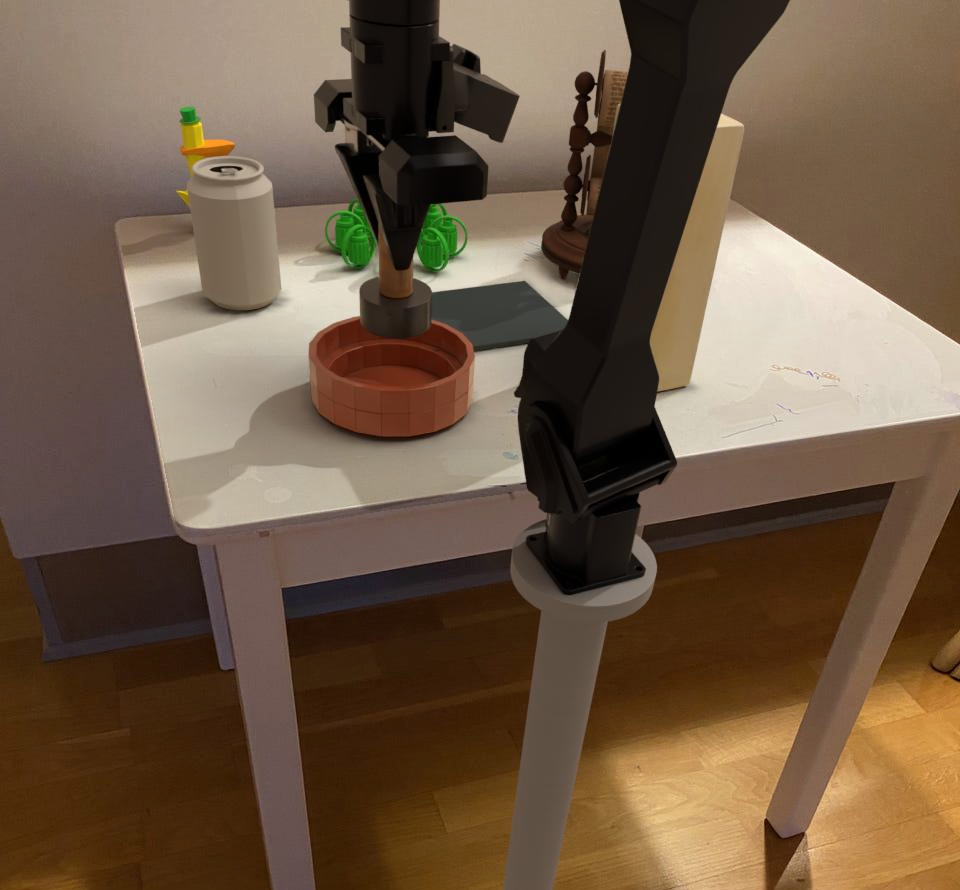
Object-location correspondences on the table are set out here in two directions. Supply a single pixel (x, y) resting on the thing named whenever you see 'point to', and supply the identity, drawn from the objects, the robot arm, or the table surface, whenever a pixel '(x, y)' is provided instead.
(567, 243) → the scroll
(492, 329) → the mat
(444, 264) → the chandelier
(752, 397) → the table surface
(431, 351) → the bowl
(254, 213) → the can
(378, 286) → the coffee tamper
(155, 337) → the table surface
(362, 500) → the table surface
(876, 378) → the table surface
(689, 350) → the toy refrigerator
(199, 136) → the toy figure
